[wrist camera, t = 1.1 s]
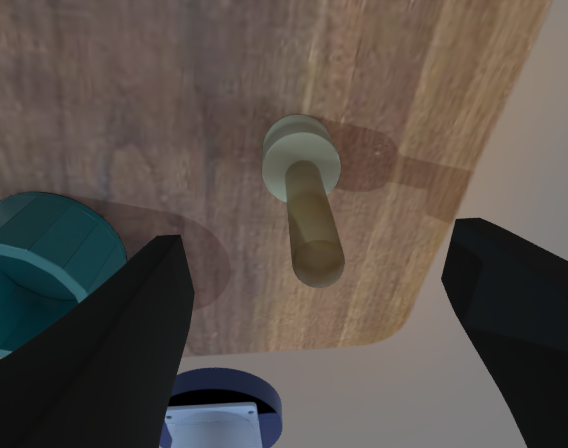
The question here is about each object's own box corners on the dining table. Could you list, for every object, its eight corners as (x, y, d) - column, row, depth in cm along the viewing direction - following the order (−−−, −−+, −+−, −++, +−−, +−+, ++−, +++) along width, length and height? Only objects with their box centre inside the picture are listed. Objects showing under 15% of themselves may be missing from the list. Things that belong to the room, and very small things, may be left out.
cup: (141, 297, 21) (116, 357, 18) (19, 304, 21) (-31, 366, 18) (103, 187, 17) (61, 236, 14) (-46, 195, 17) (-127, 246, 14)
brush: (330, 178, 18) (378, 319, 10) (265, 182, 18) (262, 326, 10) (332, 112, 16) (392, 220, 8) (260, 116, 16) (251, 228, 8)
